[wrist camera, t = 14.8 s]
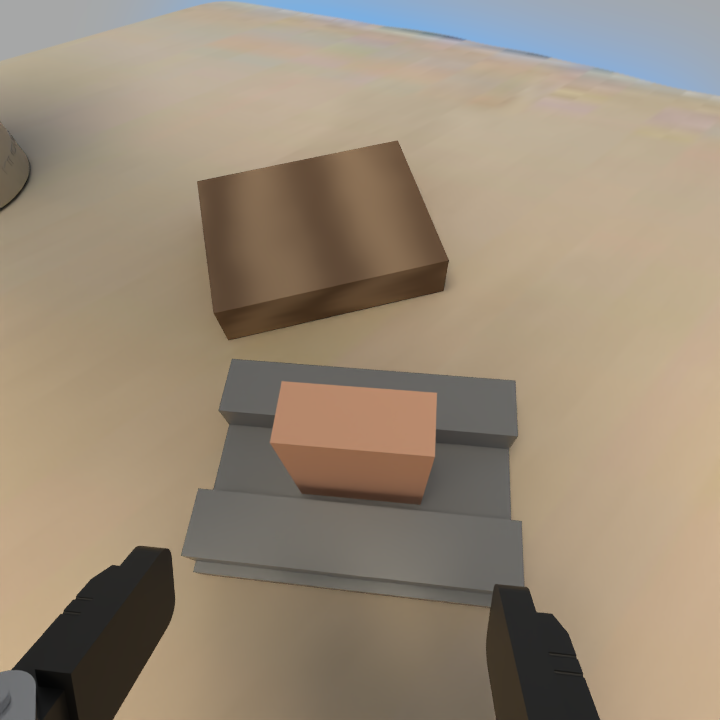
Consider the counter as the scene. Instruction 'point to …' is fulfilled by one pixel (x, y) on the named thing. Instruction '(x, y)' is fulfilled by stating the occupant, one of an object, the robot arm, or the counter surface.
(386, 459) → the tile
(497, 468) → the rack
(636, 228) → the counter surface
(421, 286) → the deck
